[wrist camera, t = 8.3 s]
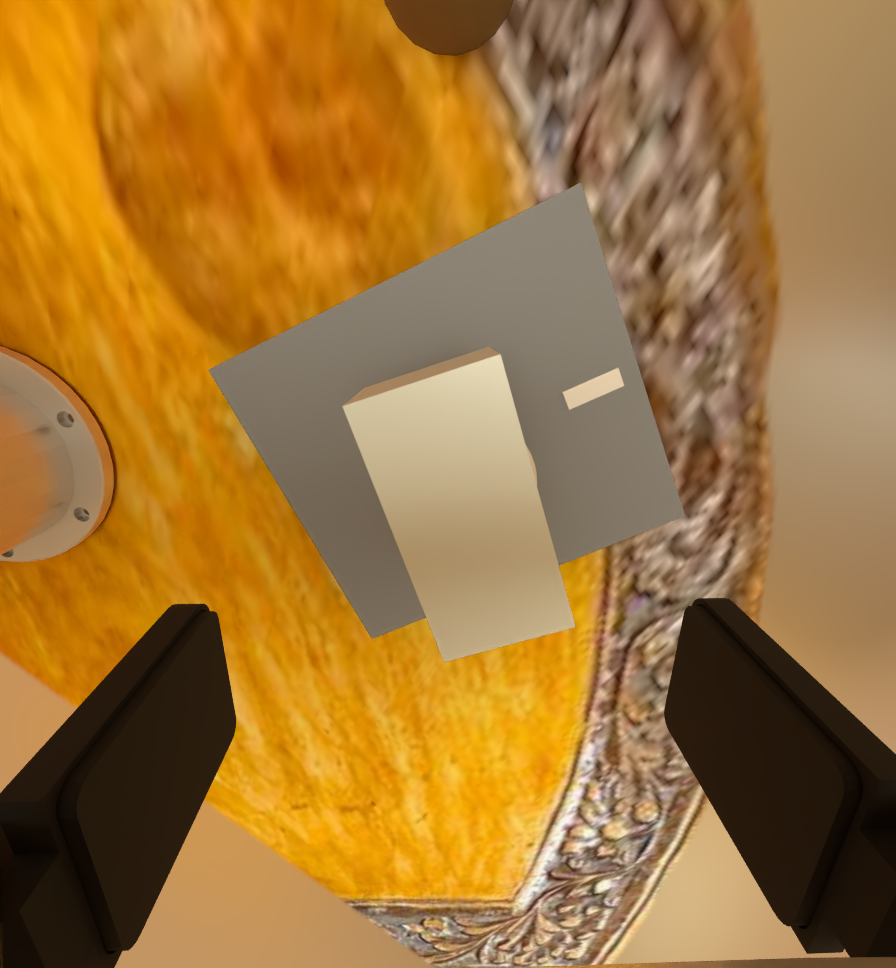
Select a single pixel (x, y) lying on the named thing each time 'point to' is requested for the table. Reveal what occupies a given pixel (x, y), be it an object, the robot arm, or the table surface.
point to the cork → (449, 22)
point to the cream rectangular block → (463, 502)
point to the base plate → (446, 335)
